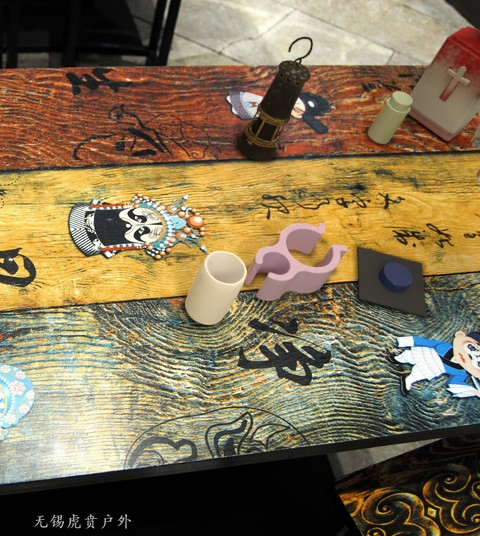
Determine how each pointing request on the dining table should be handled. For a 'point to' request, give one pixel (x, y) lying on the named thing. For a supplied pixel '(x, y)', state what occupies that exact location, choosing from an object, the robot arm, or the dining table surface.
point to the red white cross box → (450, 86)
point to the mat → (378, 293)
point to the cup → (215, 287)
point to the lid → (395, 277)
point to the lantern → (275, 109)
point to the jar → (390, 117)
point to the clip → (293, 263)
